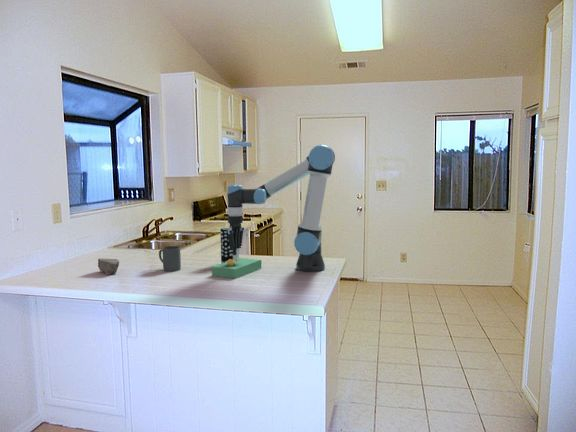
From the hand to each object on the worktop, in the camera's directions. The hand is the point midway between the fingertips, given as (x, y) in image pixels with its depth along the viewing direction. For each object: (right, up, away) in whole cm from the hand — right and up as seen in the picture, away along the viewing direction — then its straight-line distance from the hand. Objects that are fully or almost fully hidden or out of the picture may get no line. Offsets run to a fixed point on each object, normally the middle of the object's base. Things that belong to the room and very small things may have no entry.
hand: (236, 260), depth 235 cm
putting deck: (+1, -6, +1) cm, 6 cm away
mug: (-37, -6, +9) cm, 38 cm away
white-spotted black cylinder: (-6, -4, +21) cm, 22 cm away
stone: (-66, -7, +1) cm, 67 cm away
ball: (-2, -1, -4) cm, 5 cm away
